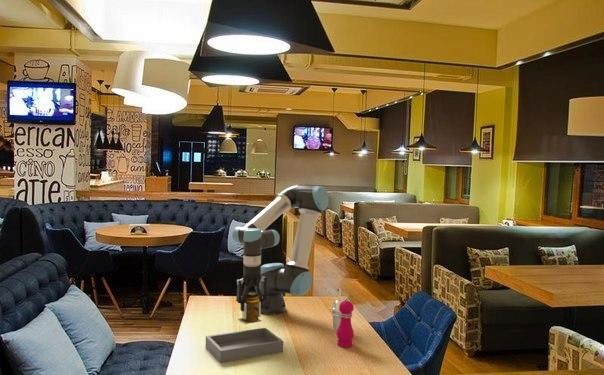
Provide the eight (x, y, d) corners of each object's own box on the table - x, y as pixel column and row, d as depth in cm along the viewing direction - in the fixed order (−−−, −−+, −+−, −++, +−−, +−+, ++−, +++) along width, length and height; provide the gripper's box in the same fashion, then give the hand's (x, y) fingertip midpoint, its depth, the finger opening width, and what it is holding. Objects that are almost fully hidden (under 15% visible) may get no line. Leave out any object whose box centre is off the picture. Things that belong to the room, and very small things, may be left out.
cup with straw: (351, 330, 233) (353, 286, 232) (340, 335, 226) (342, 290, 225) (336, 325, 239) (338, 282, 238) (324, 330, 232) (326, 286, 231)
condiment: (262, 321, 225) (262, 294, 224) (244, 324, 221) (245, 297, 220) (254, 316, 231) (254, 290, 230) (237, 319, 227) (237, 292, 226)
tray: (265, 338, 220) (265, 327, 220) (283, 352, 205) (283, 341, 205) (205, 347, 207) (205, 336, 207) (220, 362, 192) (220, 350, 192)
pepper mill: (357, 345, 216) (359, 297, 214) (346, 349, 210) (348, 300, 209) (343, 340, 220) (345, 293, 219) (332, 344, 215) (334, 297, 214)
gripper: (234, 268, 217) (234, 322, 219) (275, 264, 226) (274, 316, 228) (228, 264, 223) (227, 317, 225) (268, 260, 232) (267, 311, 234)
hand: (251, 316), depth 226 cm, fingers closed on condiment, 6 cm apart
